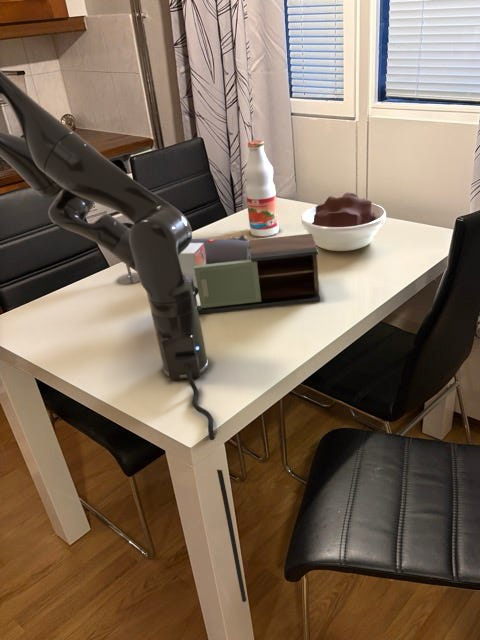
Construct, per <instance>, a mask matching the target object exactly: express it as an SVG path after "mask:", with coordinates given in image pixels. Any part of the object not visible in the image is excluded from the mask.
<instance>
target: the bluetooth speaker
mask: <svg viewBox="0 0 480 640" xmlns="http://www.w3.org/2000/svg"><path fill="white" fill-rule="evenodd" d="M190 243H204V248H205V254H206V261H207V264H214V263H223V262H233V261H242V260H251V254H250V243H249V240H248V241H243V240H230V238H192V240H191V242H190Z"/></svg>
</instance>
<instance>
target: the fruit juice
mask: <svg viewBox="0 0 480 640" xmlns="http://www.w3.org/2000/svg"><path fill="white" fill-rule="evenodd" d="M247 148H248V150H249V151H248V158H247V162H246V164H245V166H244V168H243V169H244V170H243V174H244V175H243V176H244V179H245V182H246V186H245V197H246V205H247V216H248V223H249V231H250V234H251V236H254V237H270V236H273V235H276V234H277V233H279V229H280V227H279V225H280V224H279V215H278V204H277V203H278V202H277V193H276V192H277V191H276V185H275V183H274V168H273V165H272V164H271V162H270V161H269V159H268V157H267V155H266V152H265V149H264V148H265V142H264V140H260V139H259V140H256V139H255V140H251V141H248V142H247Z"/></svg>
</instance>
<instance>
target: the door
mask: <svg viewBox="0 0 480 640" xmlns="http://www.w3.org/2000/svg"><path fill="white" fill-rule="evenodd" d="M194 271H195V276H196V282H197V288H198V298H199V306H201V308H207V307H216V306H226V305H235V304H244V303H253V302H261V294H260V285H259V276H258V267H257V261H251V260H242V261H233V262H223V263H214V264H205V265H195V266H194Z"/></svg>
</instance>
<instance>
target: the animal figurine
mask: <svg viewBox="0 0 480 640" xmlns="http://www.w3.org/2000/svg"><path fill="white" fill-rule="evenodd" d="M229 239H230V240H243V241H249V240H247V237H246V236H245V234H244V233H243V234H241V235H240V236H239V237H237V236H231V238H229Z"/></svg>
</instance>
